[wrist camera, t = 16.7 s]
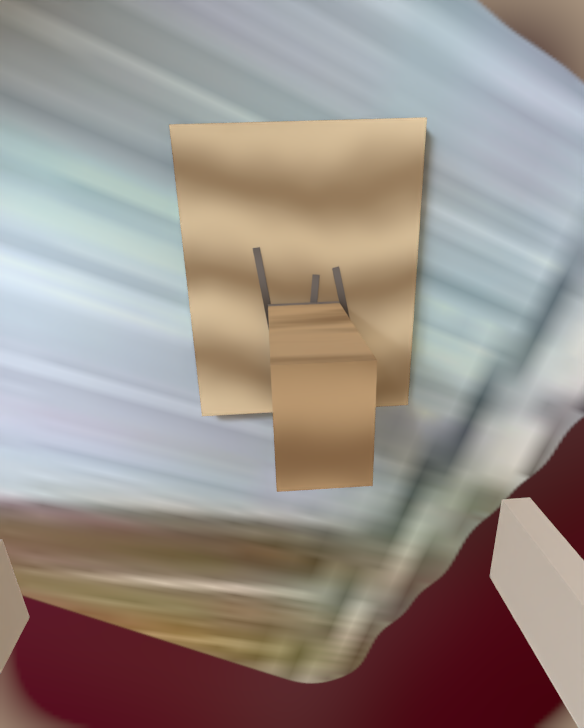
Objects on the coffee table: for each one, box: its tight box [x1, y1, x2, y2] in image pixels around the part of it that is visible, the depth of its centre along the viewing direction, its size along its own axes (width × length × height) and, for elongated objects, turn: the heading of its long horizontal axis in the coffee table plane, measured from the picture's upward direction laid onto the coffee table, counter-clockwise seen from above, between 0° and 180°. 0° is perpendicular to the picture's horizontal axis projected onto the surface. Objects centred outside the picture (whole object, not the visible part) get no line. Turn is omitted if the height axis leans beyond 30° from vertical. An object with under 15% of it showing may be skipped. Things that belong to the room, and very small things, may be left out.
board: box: [169, 118, 427, 416], centre depth 33 cm, size 20×16×1 cm
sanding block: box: [268, 301, 377, 492], centre depth 28 cm, size 7×5×12 cm
